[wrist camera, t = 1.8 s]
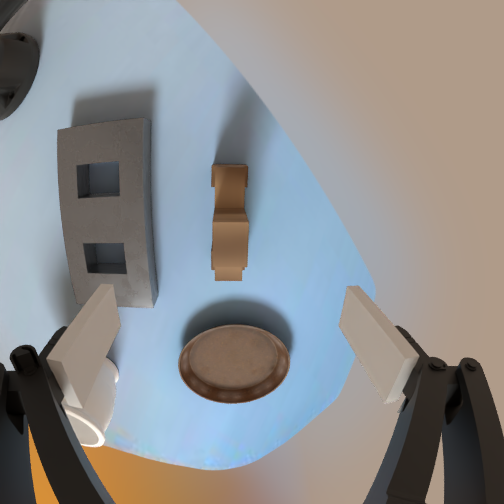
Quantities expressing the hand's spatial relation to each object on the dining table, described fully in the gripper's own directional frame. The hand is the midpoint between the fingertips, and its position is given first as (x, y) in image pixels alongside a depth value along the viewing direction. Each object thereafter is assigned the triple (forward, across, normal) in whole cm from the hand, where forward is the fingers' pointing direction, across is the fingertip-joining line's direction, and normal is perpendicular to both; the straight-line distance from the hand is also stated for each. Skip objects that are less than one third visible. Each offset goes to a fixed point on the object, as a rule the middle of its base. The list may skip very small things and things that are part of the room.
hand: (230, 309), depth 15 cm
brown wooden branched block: (+23, 0, 0) cm, 23 cm away
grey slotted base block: (+23, -16, 0) cm, 28 cm away
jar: (+23, -24, -28) cm, 43 cm away
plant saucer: (+23, +1, -24) cm, 33 cm away
